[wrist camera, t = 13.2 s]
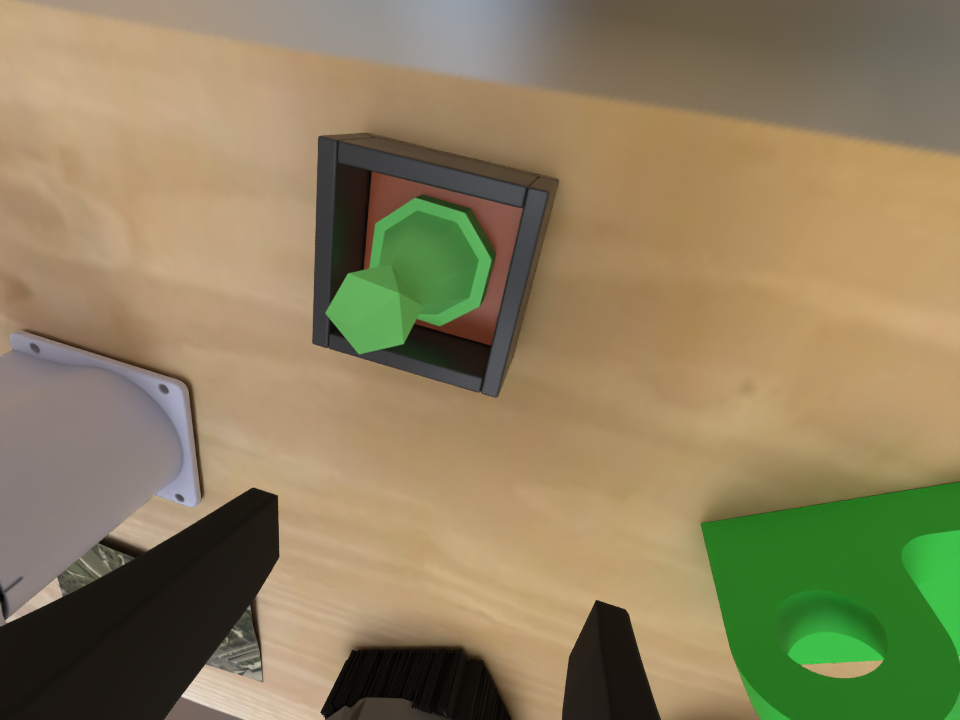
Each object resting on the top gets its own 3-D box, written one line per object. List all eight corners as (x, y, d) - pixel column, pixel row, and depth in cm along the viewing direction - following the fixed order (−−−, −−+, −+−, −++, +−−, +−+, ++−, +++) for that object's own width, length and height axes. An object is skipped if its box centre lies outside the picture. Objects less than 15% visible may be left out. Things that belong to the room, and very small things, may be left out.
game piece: (504, 314, 17) (460, 403, 12) (391, 321, 18) (304, 404, 13) (487, 185, 15) (425, 221, 10) (363, 202, 16) (249, 242, 11)
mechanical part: (737, 623, 22) (800, 862, 15) (700, 523, 20) (752, 744, 13) (1102, 592, 17) (1442, 916, 10) (1099, 459, 15) (1516, 746, 8)
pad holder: (351, 313, 19) (311, 344, 16) (364, 132, 16) (317, 135, 13) (512, 359, 18) (497, 399, 16) (559, 179, 15) (549, 191, 13)
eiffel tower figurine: (260, 591, 29) (30, 907, 17) (262, 682, 34) (84, 976, 22) (45, 513, 31) (-297, 754, 19) (77, 610, 36) (-180, 850, 24)
